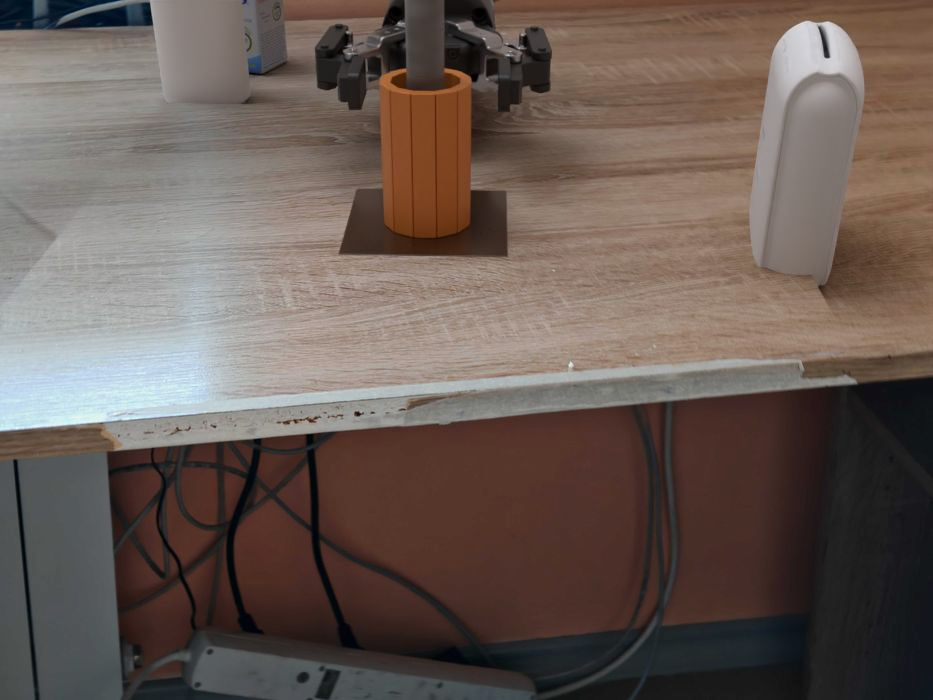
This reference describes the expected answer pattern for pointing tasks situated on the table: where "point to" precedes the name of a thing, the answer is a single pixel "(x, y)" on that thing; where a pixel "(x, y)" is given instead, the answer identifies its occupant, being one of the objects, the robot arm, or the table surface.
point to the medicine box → (264, 34)
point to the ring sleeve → (426, 155)
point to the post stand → (367, 208)
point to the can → (201, 51)
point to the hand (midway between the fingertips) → (429, 94)
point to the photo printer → (805, 150)
